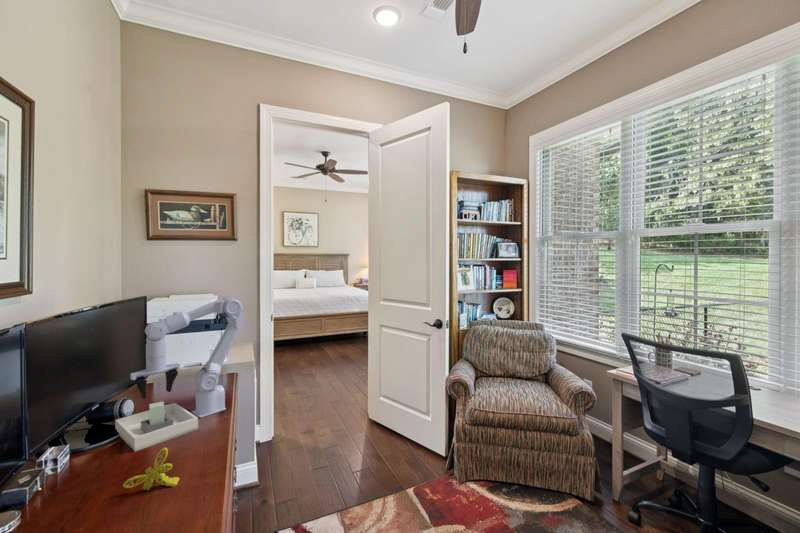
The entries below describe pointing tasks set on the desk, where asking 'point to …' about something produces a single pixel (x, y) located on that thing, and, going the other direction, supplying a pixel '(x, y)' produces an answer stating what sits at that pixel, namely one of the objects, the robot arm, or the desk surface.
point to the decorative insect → (151, 476)
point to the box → (155, 427)
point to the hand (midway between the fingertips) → (156, 394)
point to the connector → (156, 413)
